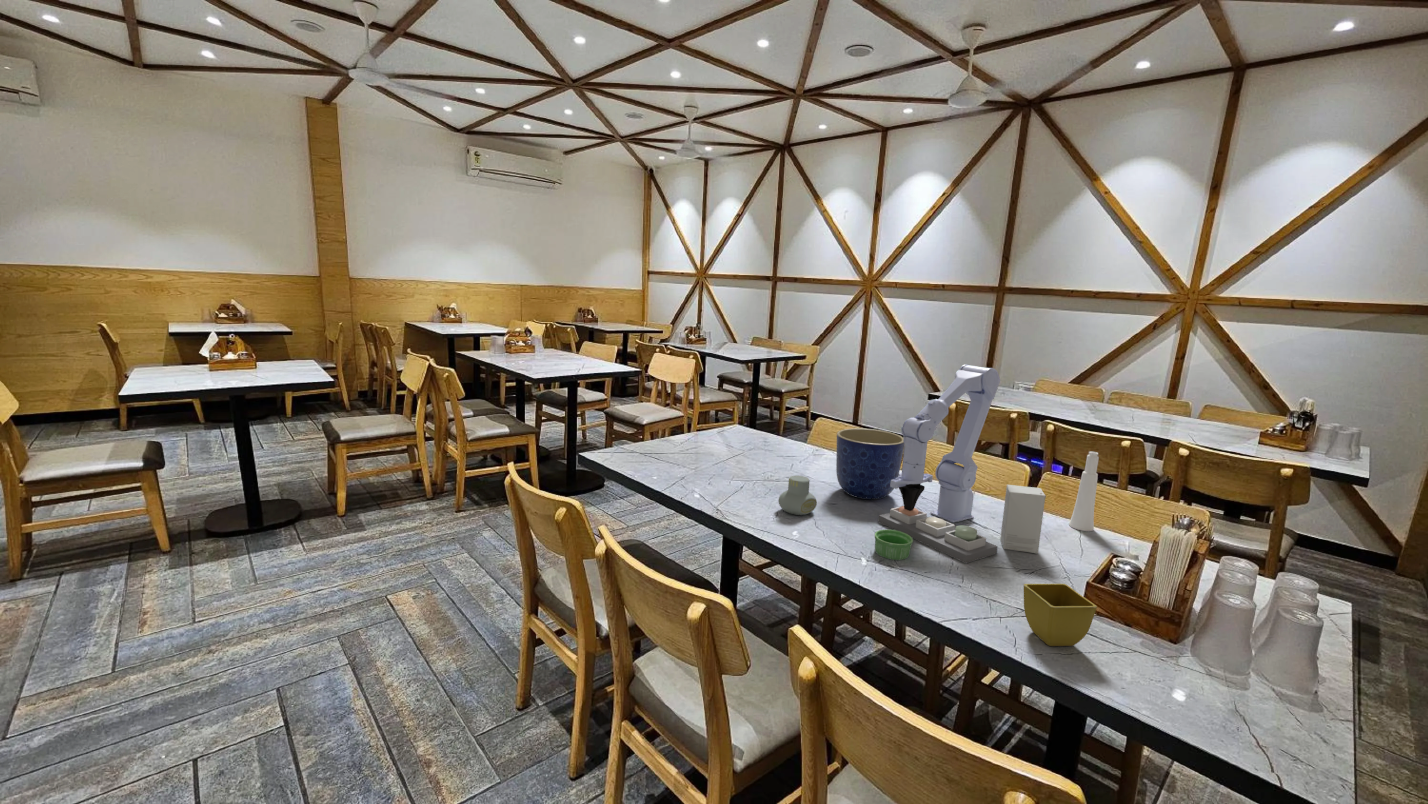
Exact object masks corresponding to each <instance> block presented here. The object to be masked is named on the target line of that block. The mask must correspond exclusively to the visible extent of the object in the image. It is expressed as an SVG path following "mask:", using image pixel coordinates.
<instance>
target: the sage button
mask: <svg viewBox="0 0 1428 804" xmlns="http://www.w3.org/2000/svg"><path fill="white" fill-rule="evenodd" d="M977 534H978V530H977V529H976V528H974V527H972V526H968V525H961V524H960V525H955V536H956V537H958V538H961V539H963V540H965V541H967V542H970V541H973V540H976V537H977Z"/></svg>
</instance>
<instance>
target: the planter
mask: <svg viewBox="0 0 1428 804" xmlns="http://www.w3.org/2000/svg"><path fill="white" fill-rule="evenodd" d="M903 438H904V437H903V436H902V435H899V434H896V433H894V432H890V431H886V430H879V429H873V428H858V427H857V428H855V427H854V428H845V429H840V430H839V431H837V433H836V459H835V461H836V469H835V471H836V472H835V473H836V479H837V482H838V484H839V486H840V488H841V489H842V490H843V491H844V492H845V493H846V494H848V495H850V496H853V497H854V498H859V499H862V500H863V499H864V500H879V499H883V498H885V497H887V496H889V495H890V494H891V493H892V492H893V491H894V489H895V488H892V487H890V483H891V480H893V479H895V478H897V477H899V474H900V472H901V471H900V470H901V467H902V466H901V465H902V461H903V456H904V446H905V443H904V442H903Z"/></svg>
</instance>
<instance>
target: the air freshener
mask: <svg viewBox="0 0 1428 804" xmlns="http://www.w3.org/2000/svg"><path fill="white" fill-rule="evenodd" d="M787 483H788V485H787V486H788V487H787V490H785V491H783V492H782V493H781V494H780V495H779V497H778V500H777V501H778V502H777V503H778V505H779V507H780V508H781V509H782V510H783V511H784V512H787V513H788V514H790V515H795V516H806V515H808V514H810V513H812V512H814V511H815V509H816V507H817V504H818V502H817V499H816V497H815V496H814V495H813V493H811V492H810V479H809V478H808V477H807V476H803V475H791V476H790V477H788V482H787Z"/></svg>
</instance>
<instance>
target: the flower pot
mask: <svg viewBox="0 0 1428 804" xmlns="http://www.w3.org/2000/svg"><path fill="white" fill-rule="evenodd" d="M1097 607H1098V606H1097V605H1096V604H1095V603H1093V602H1092V601H1090V600H1089V599H1088V598H1086V597H1084V596H1083V595H1081V594H1080V593H1079V592H1077V591H1076V590H1075V589H1073V588H1072V587H1071V586H1069V585H1068V584H1066V583H1024V584H1023V609H1024V611H1023V612H1024V615H1025V618H1026V621H1027V623H1028V625H1029V627H1030V630H1031V631H1032V633H1033V634H1035V635H1036V636H1037V637H1038V638H1039V639H1040V640H1041V641H1042V642H1044V643H1045V644H1046V645H1047V646H1049V647H1064V646H1066V647H1068V646H1069V647H1073V646H1075V645H1076V644H1078V643H1080V642H1081V641H1082V640H1083V639H1084V638H1085V637H1086V636H1087V634H1088V632H1089V631H1090V628H1091V626H1092V622H1093V619H1094V618H1095V613H1096V611H1097Z"/></svg>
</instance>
